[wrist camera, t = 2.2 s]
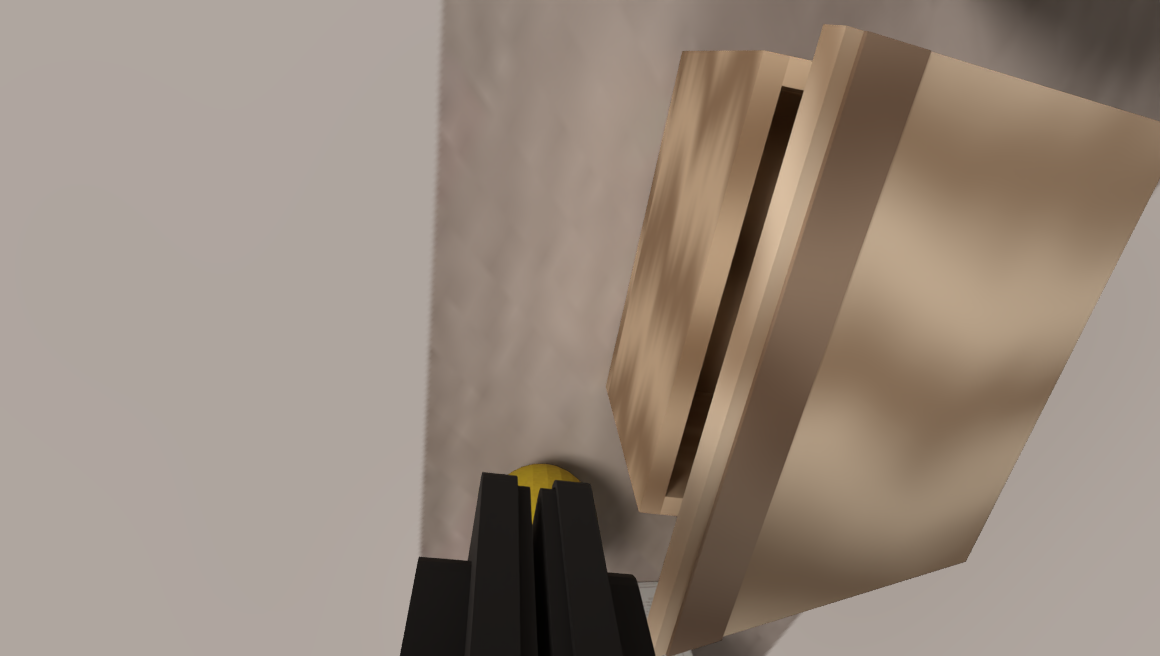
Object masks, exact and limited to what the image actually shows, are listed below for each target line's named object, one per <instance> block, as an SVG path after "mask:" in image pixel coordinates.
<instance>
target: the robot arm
mask: <svg viewBox="0 0 1160 656" xmlns="http://www.w3.org/2000/svg"><path fill="white" fill-rule="evenodd" d="M400 656H656V655H655V651H654V647H653V643H652V639H651V635H650V631H649V626H648V622H647V618H646V614H645V610H644V606H643V602H642V598H641V594H640V590H639V586H638V583H637V580H636V578H635V577H634V576H633V575H631V574H619V573H607V568H606V563H605V558H604V552H603V547H602V542H601V536H600V531H599V526H598V521H597V515H596V510H595V505H594V499H593V494H592V489H591V485H590V484H589V483H581V482H572V481H562V480H555V481H554V482H553V485H552V489H548V488H540V490H539V493H538V498H537V503H536V508H535V513H534V518H533V524H532V511H531V490H530V487H528V486H518V477H517V476H515V475H505V474H495V473H486V472H482V476H481V481H480V487H479V494H478V500H477V506H476V512H475V519H474V525H473V531H472V538H471V544H470V550H469V557H468V561H463V560H451V559H439V558H427V557H419V559H418V563H417V568H416V574H415V579H414V585H413V589H412V595H411V600H410V605H409V611H408V616H407V621H406V626H405V632H404V638H403V642H402V648H401V653H400Z"/></svg>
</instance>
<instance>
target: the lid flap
mask: <svg viewBox="0 0 1160 656" xmlns="http://www.w3.org/2000/svg"><path fill="white" fill-rule="evenodd" d="M1159 179H1160V122H1159V121H1156V120H1153V119H1150V118H1146V117H1143V116H1140V115H1137V114H1133V113H1130V112H1127V111H1123V110H1120V109H1117V108H1114V107H1110V106H1107V105H1104V104H1101V103H1097V102H1094V101H1091V100H1088V99H1084V98H1081V97H1078V96H1075V95H1071V94H1068V93H1065V92H1061V91H1058V90H1055V89H1052V88H1048V87H1045V86H1042V85H1039V84H1035V83H1032V82H1029V81H1026V80H1022V79H1019V78H1016V77H1012V76H1009V75H1006V74H1003V73H999V72H996V71H993V70H990V69H986V68H983V67H980V66H977V65H973V64H970V63H967V62H963V61H960V60H957V59H954V58H950V57H947V56H944V55H941V54H937V53H934V52H931V50H927V49H924V48H921V47H918V46H914V45H911V44H908V43H905V42H901V41H898V40H895V39H892V38H888V37H885V36H882V35H878V34H875V33H872V32H869V31H862V30H859V29H856V28H852V27H849V26H843V25H825V24H823V28H822V31H821V35H820V38H819V41H818V45H817V48H816V51H815V55H814V58H813V61H812V65H811V68H810V72H809V75H808V78H807V82H806V85H805V88H804V92H803V95H802V99H801V102H800V105H799V109H798V112H797V115H796V119H795V122H794V126H793V129H792V132H791V136H790V139H789V142H788V146H787V149H786V153H785V156H784V159H783V163H782V166H781V169H780V173H779V176H778V180H777V183H776V186H775V190H774V193H773V196H772V200H771V203H770V207H769V210H768V213H767V217H766V220H765V223H764V227H763V230H762V234H761V237H760V240H759V244H758V247H757V250H756V254H755V257H754V260H753V264H752V267H751V271H750V274H749V277H748V281H747V284H746V287H745V291H744V294H743V298H742V301H741V304H740V308H739V311H738V314H737V318H736V321H735V325H734V328H733V331H732V335H731V338H730V341H729V345H728V348H727V352H726V355H725V358H724V362H723V365H722V368H721V372H720V375H719V379H718V382H717V385H716V389H715V392H714V395H713V399H712V402H711V406H710V409H709V412H708V416H707V419H706V422H705V426H704V429H703V433H702V436H701V439H700V443H699V446H698V449H697V453H696V456H695V459H694V463H693V466H692V470H691V473H690V476H689V480H688V483H687V486H686V490H685V493H684V497H683V500H682V503H681V507H680V510H679V513H678V517H677V520H676V524H675V527H674V530H673V534H672V537H671V540H670V544H669V547H668V551H667V554H666V557H665V561H664V564H663V567H662V571H661V574H660V578H659V581H658V584H657V588H656V591H655V594H654V598H653V601H652V605H651V608H650V611H649V615H648V618H647V622H648V626H649V631H650V635H651V639H652V643H653V647H654V651H655V655H656V656H662V655H666V656H673V655H676V654H680V653H683V652H686V651H689V650H692V649H696V648H699V647H702V646H705V645H708V644H712V643H715V642H718V641H721V640H722V638H723V637H724V636H727V635H730V634H733V633H737V632H740V631H743V630H746V629H750V628H753V627H756V626H759V625H763V624H766V623H769V622H772V621H775V620H779V619H782V618H785V617H788V616H792V615H795V614H798V613H801V612H804V611H808V610H811V609H814V608H817V607H821V606H824V605H827V604H830V603H834V602H837V601H840V600H843V599H846V598H850V597H853V596H856V595H859V594H863V593H866V592H869V591H872V590H876V589H879V588H882V587H885V586H888V585H892V584H895V583H898V582H901V581H904V580H908V579H911V578H914V577H918V576H921V575H924V574H927V573H931V572H934V571H937V570H940V569H943V568H947V567H950V566H953V565H956V564H960V563H963V562H966V560H967V558H968V556H969V554H970V552H971V550H972V548H973V546H974V545H975V543H976V541H977V538H978V536H979V535H980V533H981V531H982V529H983V527H984V525H985V523H986V521H987V519H988V517H989V515H990V513H991V511H992V509H993V507H994V505H995V503H996V501H997V499H998V497H999V495H1000V493H1001V491H1002V489H1003V487H1004V485H1005V483H1006V481H1007V479H1008V477H1009V475H1010V473H1011V471H1012V469H1013V467H1014V465H1015V463H1016V462H1017V460H1018V457H1019V455H1020V454H1021V451H1022V450H1023V448H1024V446H1025V443H1026V442H1027V440H1028V438H1029V436H1030V433H1031V432H1032V430H1033V428H1034V426H1035V424H1036V422H1037V420H1038V418H1039V416H1040V414H1041V412H1042V410H1043V408H1044V406H1045V404H1046V402H1047V400H1048V398H1049V396H1050V394H1051V392H1052V390H1053V388H1054V386H1055V384H1056V382H1057V380H1058V378H1059V377H1060V374H1061V373H1062V371H1063V368H1064V367H1065V365H1066V363H1067V361H1068V359H1069V357H1070V355H1071V353H1072V351H1073V349H1074V347H1075V345H1076V343H1077V341H1078V339H1079V337H1080V335H1081V333H1082V331H1083V329H1084V327H1085V325H1086V323H1087V321H1088V319H1089V317H1090V315H1091V313H1092V311H1093V309H1094V307H1095V305H1096V303H1097V301H1098V299H1099V298H1100V295H1101V294H1102V291H1103V289H1104V288H1105V285H1106V284H1107V282H1108V280H1109V278H1110V276H1111V274H1112V272H1113V270H1114V268H1115V266H1116V264H1117V262H1118V260H1119V258H1120V256H1121V254H1122V252H1123V250H1124V248H1125V246H1126V244H1127V242H1128V240H1129V238H1130V236H1131V234H1132V232H1133V230H1134V228H1135V226H1136V224H1137V222H1138V220H1139V218H1140V216H1141V214H1142V213H1143V211H1144V209H1145V207H1146V205H1147V203H1148V201H1149V199H1150V197H1151V195H1152V193H1153V191H1154V189H1155V187H1156V185H1157V183H1158V181H1159Z"/></svg>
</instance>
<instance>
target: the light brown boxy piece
mask: <svg viewBox="0 0 1160 656" xmlns="http://www.w3.org/2000/svg"><path fill="white" fill-rule="evenodd" d="M811 65H812V61H810V60H805V59H801V58H796V57H792V56H787V55H782V54H778V53H773V52H769V51H764V50H758V51H682V56H681V60H680V64H679V69H678V73H677V77H676V82H675V86H674V91H673V95H672V99H671V104H670V108H669V112H668V117H667V121H666V126H665V130H664V134H663V139H662V143H661V148H660V152H659V156H658V161H657V165H656V169H655V174H654V178H653V183H652V187H651V191H650V196H649V200H648V205H647V209H646V213H645V218H644V222H643V226H642V231H641V235H640V240H639V244H638V248H637V253H636V257H635V261H634V266H633V270H632V275H631V279H630V283H629V288H628V292H627V297H626V301H625V305H624V310H623V314H622V318H621V323H620V327H619V332H618V336H617V340H616V345H615V349H614V353H613V358H612V362H611V367H610V371H609V375H608V380H607V384H606V389H607V392H608V396H609V400H610V404H611V408H612V411H613V415H614V419H615V423H616V426H617V430H618V434H619V438H620V442H621V445H622V449H623V453H624V457H625V460H626V464H627V468H628V472H629V476H630V479H631V483H632V487H633V491H634V494H635V498H636V502H637V506H638V510H639V512H642V513H652V514H662V515H671V516H678V513H679V510H680V507H681V503H682V500H683V497H684V493H685V490H686V486H687V483H688V480H689V476H690V473H691V470H692V466H693V463H694V459H695V456H696V453H697V449H698V446H699V443H700V439H701V436H702V433H703V429H704V426H705V422H706V419H707V416H708V412H709V409H710V406H711V402H712V399H713V395H714V392H715V389H716V385H717V382H718V379H719V375H720V372H721V368H722V365H723V362H724V358H725V355H726V352H727V348H728V345H729V341H730V338H731V335H732V331H733V328H734V325H735V321H736V318H737V314H738V311H739V308H740V304H741V301H742V298H743V294H744V291H745V287H746V284H747V281H748V277H749V274H750V271H751V267H752V264H753V260H754V257H755V254H756V250H757V247H758V244H759V240H760V237H761V234H762V230H763V227H764V223H765V220H766V217H767V213H768V210H769V207H770V203H771V200H772V196H773V193H774V190H775V186H776V183H777V180H778V176H779V173H780V169H781V166H782V163H783V159H784V156H785V153H786V149H787V146H788V142H789V139H790V136H791V132H792V129H793V126H794V122H795V119H796V115H797V112H798V109H799V105H800V102H801V99H802V95H803V92H804V88H805V85H806V82H807V78H808V75H809V72H810V68H811Z"/></svg>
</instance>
